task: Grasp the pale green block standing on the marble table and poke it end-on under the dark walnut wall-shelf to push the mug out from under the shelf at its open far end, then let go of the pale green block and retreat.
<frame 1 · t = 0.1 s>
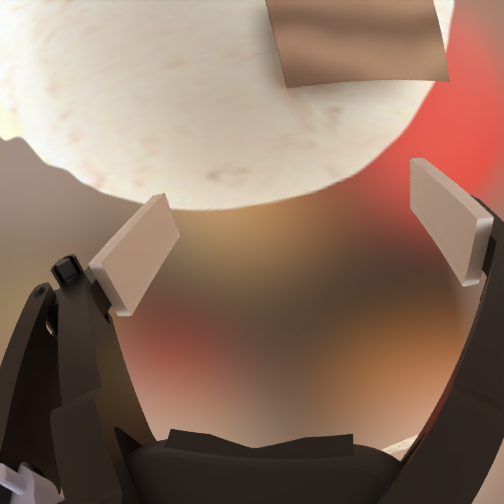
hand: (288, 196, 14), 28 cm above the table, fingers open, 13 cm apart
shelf: (337, 40, 30), on the table
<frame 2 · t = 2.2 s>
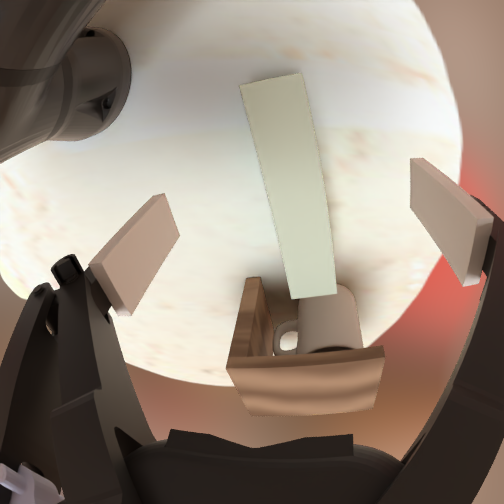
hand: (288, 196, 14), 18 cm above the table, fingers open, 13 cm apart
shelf: (308, 304, 42), on the table
pale green block: (297, 174, 32), on the table
mug: (315, 305, 42), on the table
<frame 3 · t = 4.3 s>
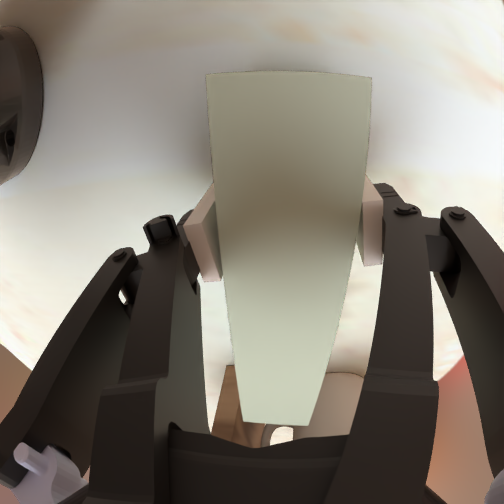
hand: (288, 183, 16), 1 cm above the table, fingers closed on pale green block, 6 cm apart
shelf: (308, 391, 30), on the table
pale green block: (288, 244, 20), on the table, touching gripper
mug: (317, 391, 30), on the table
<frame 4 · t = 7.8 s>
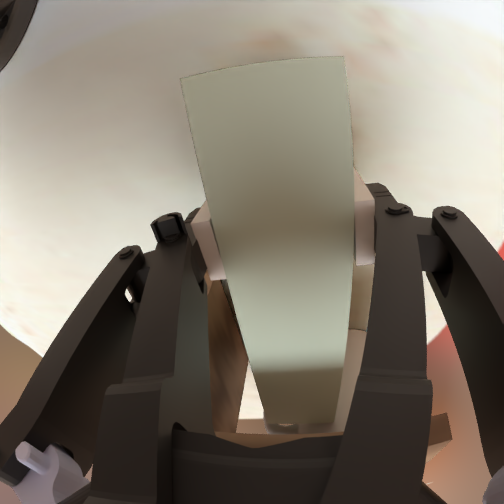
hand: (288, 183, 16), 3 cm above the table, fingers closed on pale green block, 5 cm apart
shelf: (299, 317, 26), on the table
pale green block: (296, 240, 20), point 1 cm above the table, touching gripper, mug
mug: (326, 354, 29), on the table, touching pale green block
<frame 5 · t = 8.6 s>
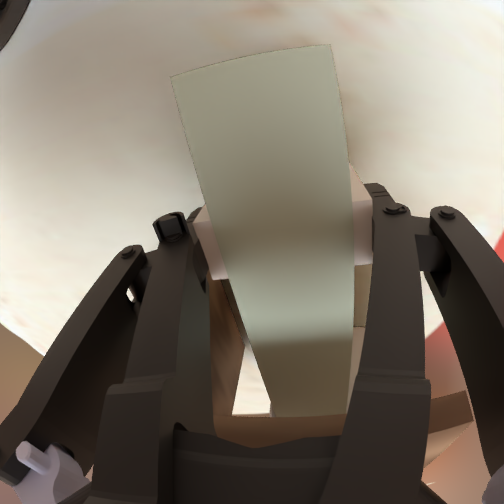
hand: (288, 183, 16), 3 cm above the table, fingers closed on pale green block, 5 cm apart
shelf: (297, 299, 24), on the table
pale green block: (299, 236, 19), point 1 cm above the table, touching gripper
mug: (333, 353, 28), on the table
when the fingers open (3 cm above the table, at t = 10.1 s): pale green block drops 1 cm, on the table.
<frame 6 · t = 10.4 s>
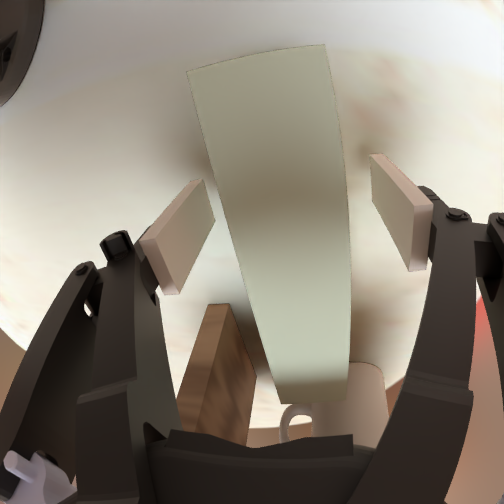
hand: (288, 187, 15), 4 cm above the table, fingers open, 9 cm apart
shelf: (304, 342, 27), on the table
pale green block: (299, 223, 21), on the table
mug: (333, 381, 31), on the table
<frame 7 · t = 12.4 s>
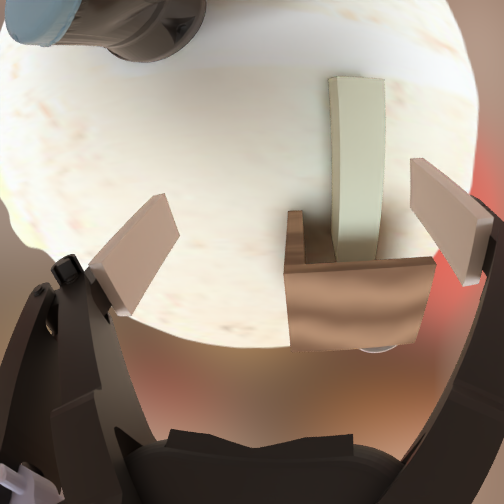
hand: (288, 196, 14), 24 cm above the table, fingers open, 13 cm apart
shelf: (344, 244, 42), on the table
pale green block: (349, 160, 36), on the table
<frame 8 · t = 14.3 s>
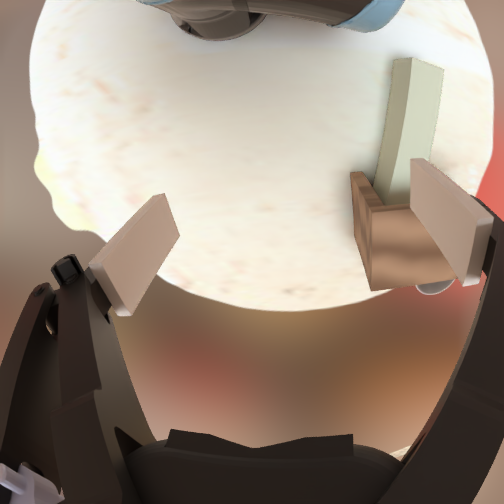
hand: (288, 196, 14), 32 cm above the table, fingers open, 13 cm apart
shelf: (396, 201, 45), on the table
pale green block: (398, 127, 39), on the table
mug: (408, 240, 49), on the table
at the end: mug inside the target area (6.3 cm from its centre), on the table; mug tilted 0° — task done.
